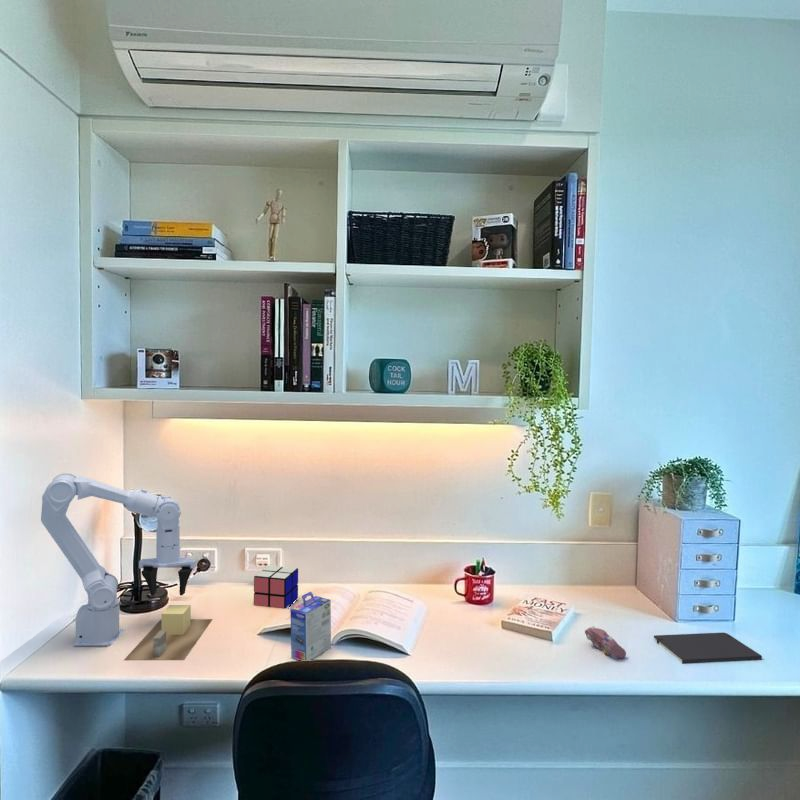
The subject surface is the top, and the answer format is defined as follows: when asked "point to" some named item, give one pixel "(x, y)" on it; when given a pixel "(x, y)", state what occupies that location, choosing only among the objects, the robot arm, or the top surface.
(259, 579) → the puzzle cube
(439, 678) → the top surface
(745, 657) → the notebook
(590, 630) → the reddish brown lumpy piece
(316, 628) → the ink cartridge box
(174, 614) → the block
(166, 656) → the tan flat slab
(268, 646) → the top surface
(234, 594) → the top surface
